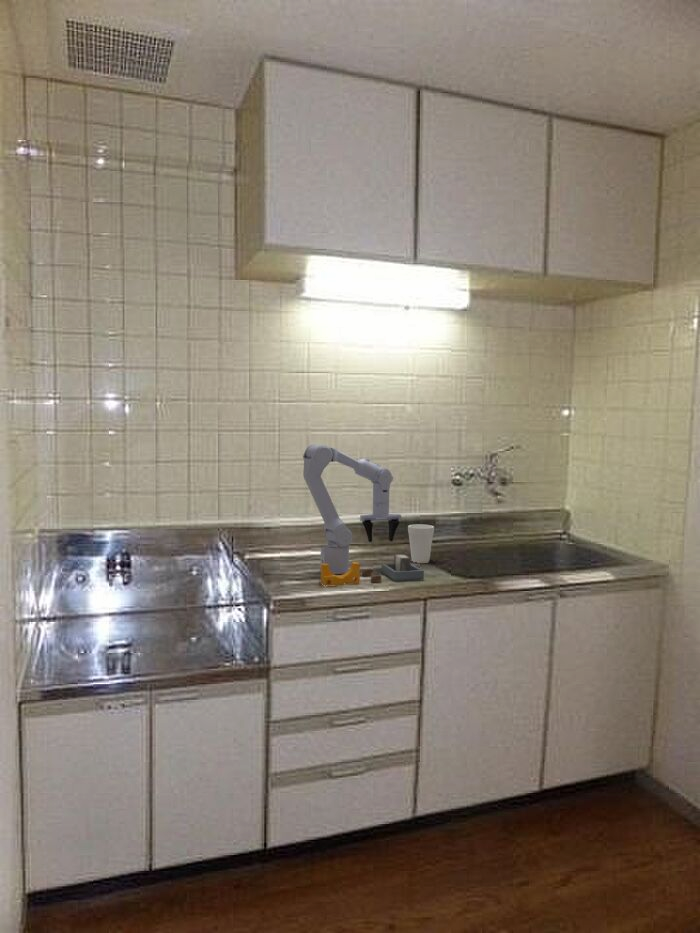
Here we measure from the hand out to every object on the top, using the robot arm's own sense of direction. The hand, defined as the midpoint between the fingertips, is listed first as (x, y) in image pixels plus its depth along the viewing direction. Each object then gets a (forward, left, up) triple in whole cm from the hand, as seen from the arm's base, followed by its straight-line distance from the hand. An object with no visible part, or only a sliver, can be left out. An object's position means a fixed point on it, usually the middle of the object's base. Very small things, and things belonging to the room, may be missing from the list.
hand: (380, 541), depth 230 cm
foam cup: (+18, +7, -10) cm, 22 cm away
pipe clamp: (-19, -19, -10) cm, 29 cm away
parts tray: (+3, -14, -9) cm, 17 cm away
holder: (-8, -15, -9) cm, 19 cm away
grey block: (+3, -14, -9) cm, 17 cm away
